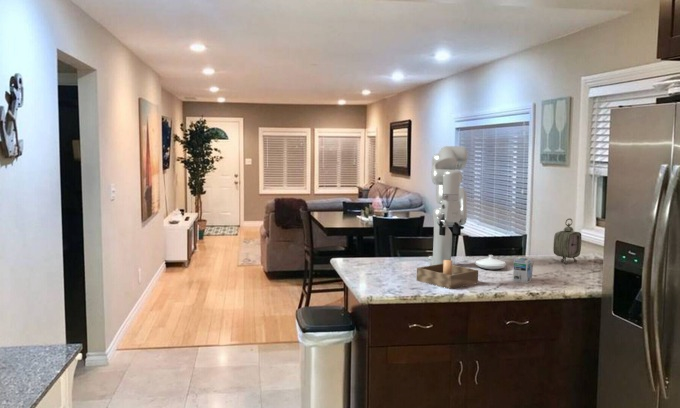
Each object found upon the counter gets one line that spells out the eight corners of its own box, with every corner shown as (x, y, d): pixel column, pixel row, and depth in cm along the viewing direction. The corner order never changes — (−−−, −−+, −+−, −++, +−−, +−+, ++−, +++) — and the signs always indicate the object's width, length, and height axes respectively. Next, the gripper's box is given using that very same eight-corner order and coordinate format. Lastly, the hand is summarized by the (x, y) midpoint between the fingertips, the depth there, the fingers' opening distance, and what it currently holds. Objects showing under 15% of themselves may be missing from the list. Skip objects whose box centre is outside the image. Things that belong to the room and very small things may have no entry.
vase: (511, 271, 295) (512, 257, 294) (484, 272, 290) (485, 258, 289) (495, 264, 310) (496, 252, 309) (469, 265, 305) (470, 252, 304)
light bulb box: (526, 283, 267) (528, 261, 266) (512, 281, 270) (513, 259, 269) (532, 279, 276) (533, 257, 275) (518, 277, 279) (519, 255, 278)
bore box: (416, 280, 267) (417, 267, 267) (444, 275, 280) (444, 263, 280) (450, 289, 252) (450, 275, 252) (477, 283, 265) (478, 270, 264)
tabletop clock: (566, 265, 313) (569, 220, 310) (551, 262, 320) (554, 218, 317) (580, 262, 322) (583, 218, 319) (565, 259, 329) (567, 216, 326)
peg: (440, 281, 266) (441, 260, 266) (446, 280, 269) (447, 259, 268) (447, 283, 263) (448, 261, 262) (453, 282, 266) (454, 260, 265)
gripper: (444, 199, 254) (443, 237, 256) (468, 197, 265) (467, 233, 267) (432, 197, 260) (430, 234, 262) (456, 196, 271) (454, 231, 273)
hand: (449, 234), depth 264 cm, fingers open, 9 cm apart
